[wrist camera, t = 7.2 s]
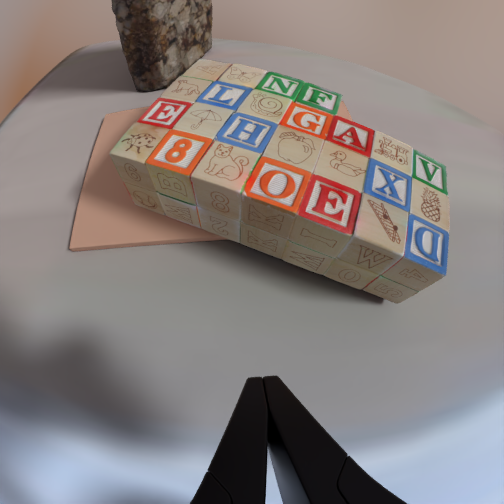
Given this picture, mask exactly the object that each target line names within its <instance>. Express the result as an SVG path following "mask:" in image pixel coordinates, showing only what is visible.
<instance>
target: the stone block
mask: <svg viewBox="0 0 504 504" xmlns="http://www.w3.org/2000/svg"><path fill="white" fill-rule="evenodd" d="M112 10H113V12H114V14H115V15H116V26H117V29H118V31H119V35H120V41H121V44H122V49H123V52H124V54H125V57H126V60H127V63H128V67H129V71H130V74H131V75H132V78H133V81H134V84H135V87H136V90H138V91H145V92H148V91H154V90H156V89H161V88H164V87H169V86H170V85H171V84H172V83H173V82H174V81H175V80H176V79H177V78H178V77H180V76H182V75H183V74H184V73H185V72H186V71H187V70H188V69H189V68H190V67H191V66H192V65H193V64H195V63H196V62H197V61H198V60H199V59H200V58H202V57H203V56H204V54H205V53H206V52H207V51H208V50H210V48H212V34H211V30H212V29H211V28H212V3H211V0H112Z"/></svg>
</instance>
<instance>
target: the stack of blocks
mask: <svg viewBox="0 0 504 504" xmlns="http://www.w3.org/2000/svg"><path fill="white" fill-rule="evenodd" d="M342 96H343V95H341V94H338V93H336V92H333V91H331V90H328V89H325V88H322V87H319V86H316V85H313V84H310V83H305V82H304V81H302V80H299V79H296V78H292V77H289V76H286V75H282V74H279V73H275V72H268V71H266V70H262V69H258V68H254V67H250V66H245V65H240V64H233V65H232V64H229V63H224V62H218V61H212V60H205V59H199V60H198V61H197V62H196V63H195V64H193V65H192V66H191V67H190V68H189V69H188V70H187V71H186V72H185V73H184V74H183V75H182V76H180V77H178V78H177V79H176V80H175V81H174V82H173V83H172V84H171V85H170V86H169V87H168V88H167V89H166V90H165V91H164V92H163V93H162V94H161V96H160V97H159V98H158V99H157V100H156V101H155V102H154V103H153V104H152V105H151V106H150V107H149V108H148V109H147V110H146V111H145V113H144V114H143V115H142V116H141V117H140V118H139V119H138V121H137V122H136V123H134V124H133V125H132V126H131V127H130V128H129V129H128V130H127V132H126V133H125V134H124V135H123V136H122V138H121V139H120V140H119V141H118V142H117V144H116V145H115V146H114V148H113V149H112V150H111V151H110V156H111V158H112V161H113V163H114V165H115V167H116V169H117V171H118V173H119V175H120V177H121V178H122V180H123V183H124V185H125V187H126V189H127V191H128V193H129V195H130V197H131V199H132V200H133V202H134V204H135V205H138V206H140V207H143V208H145V209H148V210H151V211H153V212H156V213H159V214H162V215H166V216H167V217H170V218H172V219H175V220H178V221H180V222H183V223H186V224H189V225H191V226H194V227H197V228H202V229H204V230H206V231H208V232H211V233H214V234H216V235H219V236H222V237H224V238H227V239H230V240H232V241H235V242H238V243H241V244H243V245H245V246H248V247H250V248H253V249H256V250H258V251H261V252H264V253H266V254H269V255H272V256H274V257H277V258H280V259H283V260H284V261H286V262H288V263H291V264H294V265H296V266H299V267H302V268H304V269H307V270H310V271H312V272H315V273H318V274H323V275H324V276H326V277H328V278H331V279H333V280H335V281H338V282H341V283H343V284H346V285H349V286H351V287H354V288H357V289H363V290H364V291H366V292H369V293H372V294H374V295H376V296H379V297H381V298H384V299H387V300H389V301H391V302H394V303H400V302H402V301H404V300H406V299H408V298H409V297H411V296H413V295H415V294H417V293H418V292H419V291H421V290H423V289H425V288H426V287H428V286H430V285H432V284H433V283H435V282H437V281H438V280H440V279H441V278H443V277H444V276H446V271H447V258H448V242H449V234H448V232H449V197H448V196H447V195H448V192H447V191H448V188H447V174H446V166H444V165H443V164H441V163H439V162H437V161H435V160H434V159H432V158H430V157H428V156H426V155H424V154H423V153H421V152H419V151H417V150H414V149H413V148H412V147H411V146H409V145H407V144H405V143H403V142H401V141H398V140H396V139H394V138H392V137H390V136H388V135H386V134H383V133H381V132H379V131H374V130H372V129H370V128H367V127H365V126H362V125H360V124H358V123H355V122H353V121H350V120H348V119H345V118H343V117H340V116H337V113H338V109H339V106H340V102H341V99H342Z"/></svg>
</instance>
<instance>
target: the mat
mask: <svg viewBox="0 0 504 504" xmlns="http://www.w3.org/2000/svg"><path fill="white" fill-rule="evenodd" d="M149 107H150V106H149ZM149 107H143V108H137V109H131V110H126V111H120V112H115V113H110V114H106V115H105V118H104V121H103V123H102V126H101V129H100V132H99V135H98V137H97V140H96V143H95V146H94V149H93V153H92V156H91V159H90V162H89V166H88V169H87V172H86V176H85V180H84V183H83V187H82V191H81V195H80V199H79V203H78V208H77V212H76V217H75V221H74V226H73V231H72V237H71V242H70V249H71V250H72V251H85V250H97V249H108V248H121V247H133V246H146V245H159V244H172V243H185V242H199V241H214V240H228V239H227V238H224V237H222V236H219V235H216V234H214V233H211V232H208V231H206V230H204V229H202V228H197V227H194V226H191V225H189V224H186V223H183V222H180V221H178V220H175V219H172V218H170V217H167V216H166V215H162V214H159V213H156V212H153V211H151V210H148V209H145V208H143V207H140V206H138V205H135V204H134V202H133V200H132V199H131V197H130V195H129V193H128V191H127V189H126V187H125V185H124V183H123V180H122V178H121V177H120V175H119V173H118V171H117V169H116V167H115V165H114V163H113V161H112V158H111V156H110V151H111V150H112V149H113V148H114V146H115V145H116V144H117V142H118V141H119V140H120V139H121V138H122V136H123V135H124V134H125V133H126V132H127V130H128V129H129V128H130V127H131V126H132V125H133V124H134V123H136V122H137V121H138V119H139V118H140V117H141V116H142V115H143V114H144V113H145V111H146V110H147V109H148V108H149ZM337 116H340V117H343V118H345V119H348V120H350V121H353V120H352V118H351V116H350V114H349V112H348V110H347V108H346V106H345V104H344V102H343V101H341V102H340V106H339V109H338V113H337Z"/></svg>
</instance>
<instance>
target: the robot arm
mask: <svg viewBox="0 0 504 504" xmlns="http://www.w3.org/2000/svg"><path fill="white" fill-rule="evenodd" d="M267 449H269V453H270V457H271V461H272V465H273V468H274V472H275V476H276V480H277V483H278V487H279V491H280V494H281V498H282V501H283V504H407V503H406V502H404V501H403V500H401V499H400V498H398V497H397V496H396V495H394V494H393V493H391V492H390V491H388V490H387V489H386V488H384V487H383V486H382V485H381V484H379V483H378V482H377V481H375V480H374V479H373V478H372V477H371V476H369V475H368V474H367V473H366V472H365V471H364V470H363V469H362V468H361V467H360V466H359V465H358V464H357V463H356V462H355V461H354V460H353V459H352V458H351V457H350V456H347V455H348V454H347V453H346V452H345V451H344V450H343V449H342V448H341V447H340V446H339V444H338V443H337V442H336V441H335V440H334V439H333V438H332V437H331V436H330V435H329V434H328V433H327V431H326V430H325V429H324V428H323V427H322V426H321V425H320V424H319V423H318V422H317V420H316V419H315V418H314V417H313V416H312V415H311V414H310V413H309V412H308V410H307V409H306V408H305V407H304V406H303V405H302V404H301V402H300V401H299V400H298V399H297V398H296V397H295V396H294V394H293V393H292V392H291V391H290V390H289V389H288V387H287V386H286V385H285V384H284V383H283V382H282V380H281V379H280V378H279V377H278V376H265V377H263V379H262V377H250V378H248V379H247V380H246V383H245V385H244V388H243V390H242V392H241V395H240V397H239V400H238V402H237V404H236V407H235V409H234V411H233V414H232V416H231V418H230V421H229V423H228V425H227V428H226V430H225V432H224V435H223V437H222V439H221V441H220V444H219V446H218V448H217V450H216V453H215V455H214V457H213V459H212V461H211V464H210V466H209V468H208V472H206V474H205V476H204V478H203V480H202V482H201V484H200V486H199V488H198V490H197V492H196V494H195V496H194V498H193V499H192V501H191V502H190V504H265V498H266V475H267Z"/></svg>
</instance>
